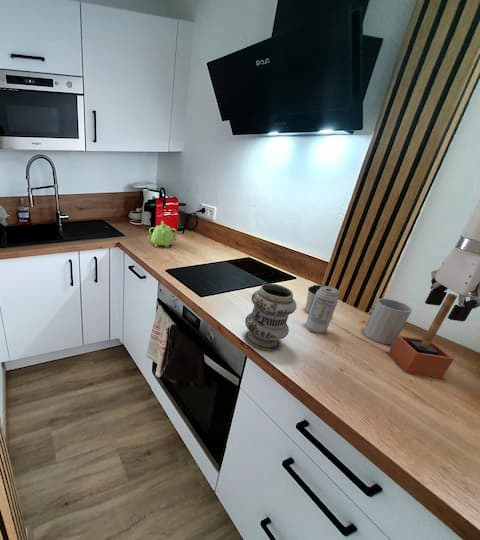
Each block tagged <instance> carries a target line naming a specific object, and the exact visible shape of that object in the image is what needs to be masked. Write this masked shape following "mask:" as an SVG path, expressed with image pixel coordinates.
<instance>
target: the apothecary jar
mask: <svg viewBox="0 0 480 540" xmlns="http://www.w3.org/2000/svg"><path fill="white" fill-rule="evenodd" d="M251 303H252V304H253V308H252V310H251V312H250V313H248V314H247V316H246V317H245V320H244V324H245V327H246V328H247V330H248V331H247V332H246V333H245V334H244V335H245V336H244V337H245V340H246V341H247V342H248V343H249V344H250V345H251V346H253V347H255V348H256V349H260V350H263V351H268V352H269V351H270V352H271V351H273V350H278V349H279V348H280V346H281V343H280V340H282V339H285V338H286V337H288V334H289V333H290V329H289V325H288V324H287V323H288V318H289V316H290V315H292V314H293V313H295V311H296V310H297V303H296V300H295V299H294V292H293V291H292V290H291V289H289V288H288V287H286V286H284V285H282V284H281V285H280V284H278V283H263V284H261V286H260V288H259V289H258V290H256V291H254V292H253V293H252V295H251Z"/></svg>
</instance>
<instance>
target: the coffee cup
mask: <svg viewBox="0 0 480 540" xmlns="http://www.w3.org/2000/svg"><path fill="white" fill-rule="evenodd" d="M321 286H322V285H321V284H320V285H319V284H314V285H312V286H309V287H308V289H307V290H308V291H307V298H306V302H305V308H304V311H305V312H306V313H307V314H309V313H310V310H311V307H312V304H313V301H314V298H315V295H316V292H317V290H319V289H320V287H321Z"/></svg>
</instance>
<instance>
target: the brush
mask: <svg viewBox="0 0 480 540" xmlns="http://www.w3.org/2000/svg"><path fill="white" fill-rule="evenodd" d="M457 298H458V295H457V294H454V293H447V294H446V296H445V298H444V300H443V301H442V303H441V305H440V308H439V310H438V312H437V313H436V315H435V316H434V319H433V321H431V324H430V325H429V328H428V329H427V330H426V331H427V332H426V333H425V334H424V337H423V338H422V339H423V340H422V342H415V341H410V343H409V345H410V346H411V347H412V348H413V349H415V350H416V351H417V352H419V353H425V354H432V355H437V353H438V352H437V351H436V350H435V349H433V348H432V347H431V346H430V344H431V342H433V341H434V338H435V337H436V335H437V333H438V332H439V330H440V328H441V326H442V324H443V323H444V321H445V319H446V317H448V315H449V313H450V310H452V308H453V306H454V303H455V302H456V300H457Z"/></svg>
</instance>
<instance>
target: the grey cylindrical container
mask: <svg viewBox="0 0 480 540" xmlns="http://www.w3.org/2000/svg"><path fill="white" fill-rule="evenodd" d="M412 312H413V309H412V307H410V306H409V305H408V304H405V303H403V302H401V301H398V300H394V299H390V298H383V297H382V298H378V299H377V300H376V302H375V304H374V306H373V309H372V310H371V313H370V316H369V318H368V319H367V321H366V324H365V327H364V329H363V334H364V335H365V336H366V338H369V339H371V340H372V341H373V342H377V343H379V344H384V345H392V344H393V342H394V340H395V338H396V336H397V335H399V336H401V333H402V331H403V329H404V328H405V325H406V323H407V321H408V319H409V317H410V316H411V313H412Z"/></svg>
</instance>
